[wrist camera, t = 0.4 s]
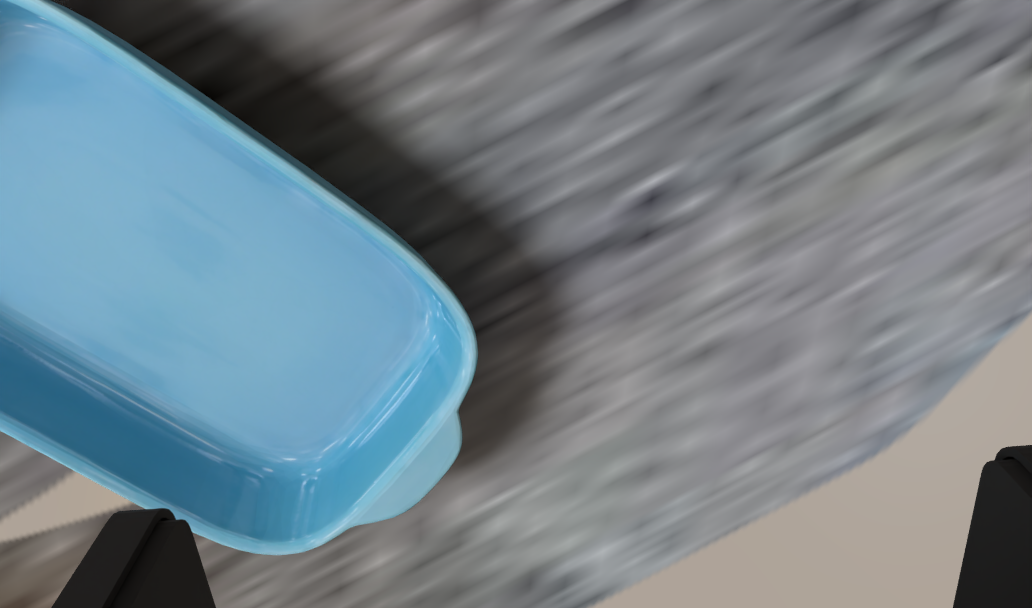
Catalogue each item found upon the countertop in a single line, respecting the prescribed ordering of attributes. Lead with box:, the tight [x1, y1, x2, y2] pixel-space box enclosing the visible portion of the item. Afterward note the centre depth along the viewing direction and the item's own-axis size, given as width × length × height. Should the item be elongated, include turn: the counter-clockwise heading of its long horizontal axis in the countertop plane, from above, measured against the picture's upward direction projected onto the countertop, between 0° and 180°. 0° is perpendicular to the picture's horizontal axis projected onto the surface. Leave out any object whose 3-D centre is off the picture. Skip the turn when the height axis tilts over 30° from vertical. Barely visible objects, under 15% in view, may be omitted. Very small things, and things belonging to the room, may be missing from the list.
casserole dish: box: [0, 0, 478, 555], centre depth 44 cm, size 37×22×7 cm, turn 51°
